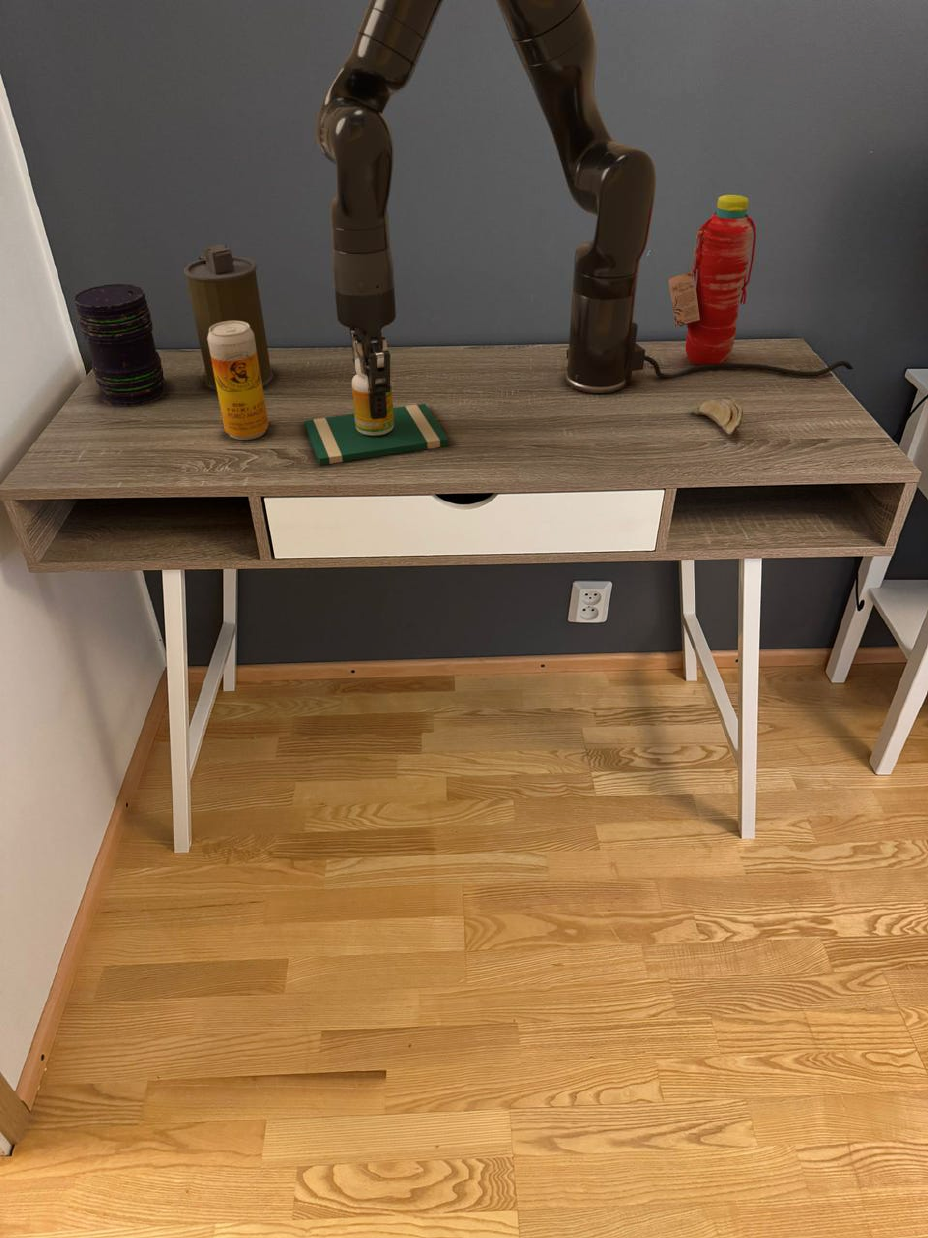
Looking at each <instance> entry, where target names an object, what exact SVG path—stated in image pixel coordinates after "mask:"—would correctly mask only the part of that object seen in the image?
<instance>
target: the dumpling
mask: <svg viewBox="0 0 928 1238" xmlns="http://www.w3.org/2000/svg"><path fill="white" fill-rule="evenodd" d="M694 414H696V415H697V416H701V415H703V416H706V417H708V418H709V419H711V420H712V421H714V422H715V423H716V424H717V425H718V426H719V427H721V428H722V430H723V431H724V432H725V434H728V435H729V436H731V437H732V438H734V437H735V435H738V432H737V431H738V430H737V429H739V428H740V426H741V424H742V421H743V417H744V411H743V405H742V404H740V403H738V402H737V401H736V400H735V399H733V398H731V397H717V398H714V399H710V400H709V399H708V400H706V401H703V402H702V403H700V404H698V405H697V406H696V408H695V410H694Z"/></svg>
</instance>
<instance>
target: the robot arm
mask: <svg viewBox="0 0 928 1238" xmlns="http://www.w3.org/2000/svg"><path fill="white" fill-rule="evenodd" d="M495 1H496V3H497V6H498V8H499V10H500V13H501V16H502V18H503V21H504V23H505V27H506V29H507V32H508V35H509V36H510V39H511V41H512V43H513V46H514V49H515V51H516V53H517V55H518V59H519V61H520V63H521V66H522V68H523V69H524V72H525V74H526V76H527V78H528V80H529V83H530V84H531V87H532V89H533V92H534V94H535V97H536V99H537V101H538V104H539V106H540V109H541V111H542V114H543V115H544V118H545V120H546V122H547V125H548V127H549V130H550V133H551V135H552V139H553V141H554V144H555V147H556V152H557V154H558V159H559V162H560V165H561V168H562V172H563V175H564V178H565V182H566V184H567V185H566V186H567V188H568V190H569V193H570V196H571V197H572V199H573V201H574V202H575V204H576V205H577V206H578V207H579V208H580V209H582V210H583V211H585V212H586V213H588V214H591V215H594V216H596V224H595V230H594V236H593V239H592V240H587V241H585V242H582V243H580V244H579V245H578V246H577V247H576V250H575V253H574V265H573V278H572V279H573V280H572V296H571V310H570V323H569V324H570V325H569V337H568V349H566V359H567V365H566V372H565V383H566V384H567V385H568V386H570V388H572V389H575V390H577V391H579V392H584V393H588V394H609V393H614V392H618V391H620V390H622V389H624V388H625V387H627V386H631V385H632V380H633V372H636V371H643V370H644V364H645V362H648V364H651V365H652V367H653V368H654V372H655V375H656V376H657V377H658V378H660V379H662V380H670V379H675V378H679V377H683V376H687V375H689V374H692V373H695V372H698V371H702V370H711V369H712V370H713V369H744V370H745V369H746V370H758V371H768V372H773V373H778V374H784V375H789V376H795V377H806V378H808V377H809V378H813V377H820V376H824V375H826V374H828V373H831V372H832V371H835V370H836V369H837V368H839V367H845V369H847V370H853V369H854V367H853V365H852V364H851V363H850V362H848V361H846V360H839V361H837V362H835V363H833V364H831V365H829V366H828V367H826V368H823V369H820V370H816V371H815V370H814V371H807V370H806V371H804V370H803V371H802V370H794V369H788V368H784V367H778V366H775V365H774V366H773V365H766V364H757V363H743V362H742V363H736V362H725V363H717V364H703V365H698V366H697V365H694V366H692V367H689V368H687V369H685V370H683V371H680V372H678V373H675V374H665V373H664V372H663V373H662V371H661V368H660V365H659V363H658V361H656V359H654V358H652V357H650V356H648V355H646V349H644V348H643V347H642V346H640V345H639V344H638V343H637V335H638V327H639V326H638V324H637V322H636V321H634V313H635V305H636V295H637V286H638V278H639V268H640V261H641V259H642V257H643V254H644V253H645V250H646V248H647V245H648V240H649V235H650V229H651V224H652V223H651V222H652V217H653V211H654V204H655V197H656V190H657V172H656V166H655V163H654V161H653V159H652V157H651V156H650V154H649V153H647V152H646V151H645V150H643V149H640V148H637V147H634V146H633V147H632V146H630V145H626V144H622V143H619V142H616V141H615V140H614V139H613V138H612V136H611V135H610V133H609V131H608V128H607V126H606V124H605V122H604V120H603V117H602V113H601V112H600V108H599V107H598V103H597V99H596V94H595V77H596V65H597V39H596V34H595V29H594V26H593V23H592V20H591V17H590V14H589V10H588V8H587V6H586V3H585V0H495ZM443 3H444V0H369V2H368V4H367V8H366V10H365V13H364V15H363V18H362V22H361V23H360V26H359V29H358V31H357V34H356V37H355V40H354V42H353V46H352V48H351V51H350V53H349V55H348V56H347V58H346V60H345V61H344V63H343V64H342V66H341V67H340V69H339V70H338V72H337V74H336V76H335V78H334V79H333V81H332V83H331V84H330V86H329V88H328V90H327V92H326V94H325V96H324V97H323V99H322V102H321V105H320V107H319V109H318V113H317V117H316V122H315V140H316V143H317V146H318V148H319V150H320V152H321V154H322V155H323V156H324V157H325V158H326V159H327V160H328V161H329V162H331V163H332V164H334V165H335V169H336V194H335V195H334V196H333V198H332V199H331V200H330V205H329V221H330V222H329V223H330V230H331V231H330V233H331V242H332V275H333V276H332V277H333V287H334V296H335V297H334V298H335V307H336V317H337V321H338V322H339V324H340V325H341V326H344V327H346V328H348V329H349V337H350V345H351V352H352V353H351V354H352V363H353V365H355V361H356V359H358V358H359V361H360V367H361V373H362V375H364V376H365V377H366V382H367V391H368V395H369V407H370V416H371V418H372V419H380V418H385V417H386V416H387V405H386V393H388V392H390V389H391V386H390V378H391V353H390V351H389V350H388V344H387V338H386V336H383V334H382V329H383V328H384V327H386V326H389V325H391V324H392V323H393V322H394V321H395V319H396V318H397V317H396V316H397V312H396V311H397V310H396V309H397V308H396V291H395V275H394V274H395V272H394V262H393V256H392V251H391V241H390V240H391V239H390V238H391V237H390V223H389V211H388V205H389V199H390V194H391V188H392V178H393V169H394V156H395V155H394V142H393V136H392V132H391V128H390V126H389V124H388V121H387V120H386V118H385V117H384V115H383V112H384V111H385V109H386V107H387V106H388V103H389V101H390V99H391V98H392V96H393V95H395V94H397V93H399V92H402V91H403V90H405V89H406V87H407V86H408V84H409V83H410V81H411V79H412V77H413V75H414V73H415V70H416V67H417V65H418V63H419V60H420V58H421V55H422V53H423V50H424V48H425V45H426V43H427V41H428V38H429V36H430V33H431V31H432V28H433V25H434V23H435V21H436V18H437V17H438V14H439V12H440V9H441V7H442V4H443ZM368 365H369V369H368V368H367V367H366V366H368ZM377 379H381V383H376V384H375V381H376V380H377Z"/></svg>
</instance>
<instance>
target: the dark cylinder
mask: <svg viewBox="0 0 928 1238" xmlns="http://www.w3.org/2000/svg"><path fill="white" fill-rule="evenodd" d="M73 300H74V303H75V306H76V311H77V314H78V321H79V325H80V327H81V330H82V332H81V333H82V335H83V337H84V339H85V340H86V342H87V344H88V348H89V351H90V355H91V359H92V361H91V367H92V372H93V373H94V379H95V382H96V385H97V386H98V389H99V391H100V398H101V399H102V401H103V403H105V404H108V405H110V406H115V407H135V406H140V405H141V406H142V405H146V404H149V403H152V402H154V401H157V400H159V399H160V398H162V397H163V396H164V395H165V394H166V392H167V386H166V383H165V376H164V368H163V365H162V358H161V356H160V354H159V353H158V351H157V349H156V344H155V340H154V336H153V330H154V328H153V322H152V318H151V317H152V316H151V311H150V308H149V306H148V302H147V300H146V294H145V290H144V288H142V287H141V286H139V285H134V284H130V283H129V284H126V283H114V284H105V285H103V284H102V285H97V286H93V287H90V288H86V289H84V290H82V291H80V292H78V293H76V294H75V296H74V297H73Z"/></svg>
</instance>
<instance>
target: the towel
mask: <svg viewBox="0 0 928 1238" xmlns="http://www.w3.org/2000/svg"><path fill="white" fill-rule="evenodd" d="M393 413H394V427H393V429H392V430H391V431H390V432H388V433H386V434H383V435H376V436H370V435H364V434H362V433H360V432H358V431H357V429H356V425H355V415H354V413H349V414H342V415H334V416H328V417H320V418H313V419H306V420H303V423H304V425H303V426H304V428H305V431H306V433H307V437H308V439H309V441H310V444H311V446H312V448H313V451H314V454H315V456H316V459H317V461H318V465H319V466H324V465H331V464H339V463H344V462H350V461H351V462H352V461H356V460H363V459H369V458H376V457H382V456H389V455H394V454H395V455H396V454H402V453H409V452H415V451H422V450H429V449H436V448H440V447H448V446H449V445H450V439H449V437H448V435H447V434H446V433H445V431H444V430H443V428H442V426H441V425H440V423H439V422H438V420H437V419H436V417H435V416H434V415H433V413H432V412H431V410H430V408H429V407H428V405H427V403H418V404H411V405H410V404H409V405H404V406H398V407H393Z"/></svg>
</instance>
